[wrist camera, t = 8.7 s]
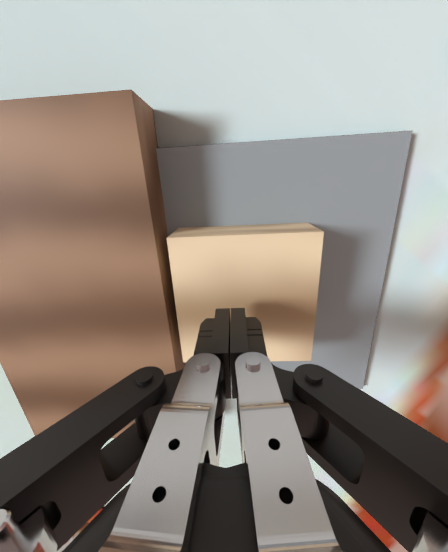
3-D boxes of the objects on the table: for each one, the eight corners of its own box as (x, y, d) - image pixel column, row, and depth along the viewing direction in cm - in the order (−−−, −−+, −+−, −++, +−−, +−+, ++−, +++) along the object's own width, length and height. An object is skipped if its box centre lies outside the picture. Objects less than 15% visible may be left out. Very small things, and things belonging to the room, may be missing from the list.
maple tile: (178, 227, 15) (166, 237, 13) (307, 222, 15) (323, 231, 12) (190, 334, 18) (183, 362, 16) (299, 332, 18) (311, 360, 15)
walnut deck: (-50, 124, 14) (-120, 110, 11) (152, 108, 14) (131, 89, 11) (61, 405, 22) (36, 438, 19) (192, 404, 21) (186, 437, 19)
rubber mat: (141, 150, 14) (138, 149, 14) (407, 132, 13) (412, 130, 13) (178, 386, 21) (177, 390, 20) (360, 384, 20) (362, 388, 19)
